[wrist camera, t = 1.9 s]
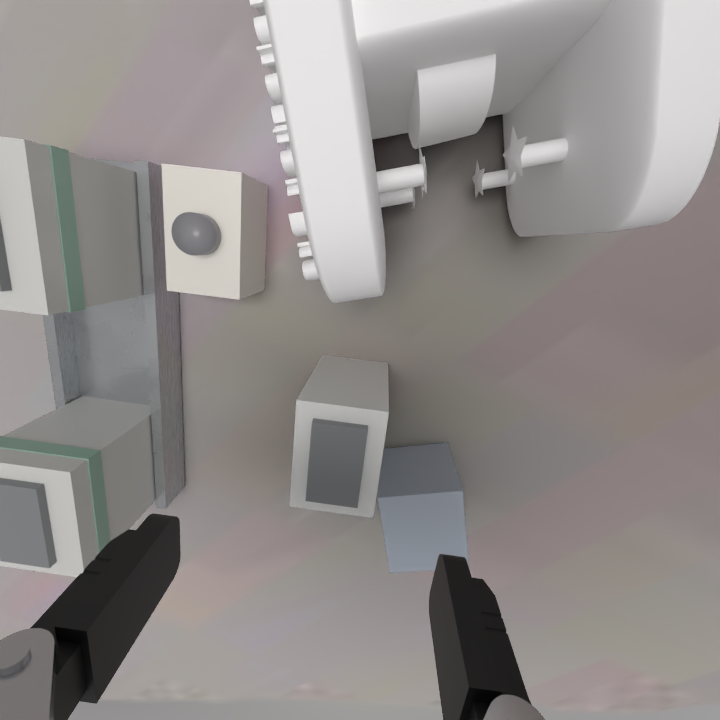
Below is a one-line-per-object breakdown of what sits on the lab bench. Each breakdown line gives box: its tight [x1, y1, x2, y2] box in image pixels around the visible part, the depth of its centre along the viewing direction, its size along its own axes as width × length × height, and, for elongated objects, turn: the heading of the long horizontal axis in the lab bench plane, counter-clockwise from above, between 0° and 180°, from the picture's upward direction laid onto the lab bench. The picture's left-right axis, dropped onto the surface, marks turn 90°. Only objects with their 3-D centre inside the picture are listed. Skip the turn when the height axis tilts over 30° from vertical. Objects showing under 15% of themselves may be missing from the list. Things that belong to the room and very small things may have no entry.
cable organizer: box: [249, 0, 720, 303], centre depth 13 cm, size 15×11×12 cm
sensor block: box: [161, 163, 268, 300], centre depth 19 cm, size 4×6×5 cm, turn 173°
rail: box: [43, 158, 185, 509], centre depth 22 cm, size 6×20×2 cm, turn 173°
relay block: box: [378, 443, 469, 573], centre depth 23 cm, size 4×5×5 cm
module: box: [289, 355, 389, 518], centre depth 20 cm, size 4×6×7 cm
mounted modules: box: [0, 137, 156, 577], centre depth 19 cm, size 5×19×7 cm, turn 173°
